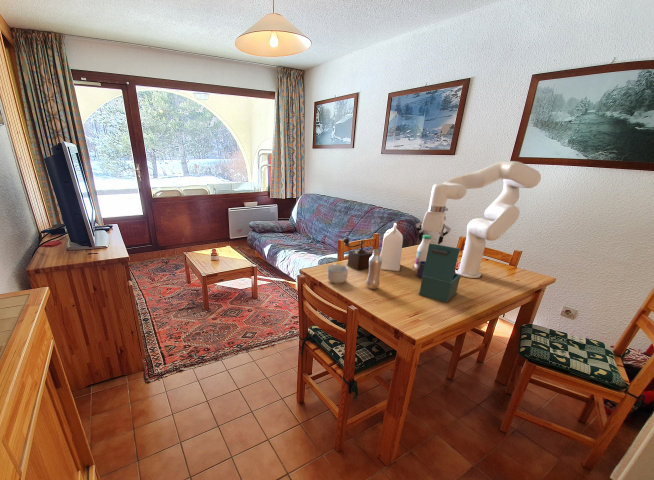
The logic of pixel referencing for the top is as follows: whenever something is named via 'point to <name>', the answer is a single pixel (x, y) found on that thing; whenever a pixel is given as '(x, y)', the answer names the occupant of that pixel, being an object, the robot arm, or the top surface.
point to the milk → (392, 249)
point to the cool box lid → (441, 262)
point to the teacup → (337, 273)
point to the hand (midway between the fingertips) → (429, 241)
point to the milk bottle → (422, 250)
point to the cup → (420, 269)
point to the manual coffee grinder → (358, 256)
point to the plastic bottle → (374, 269)
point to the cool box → (439, 288)
